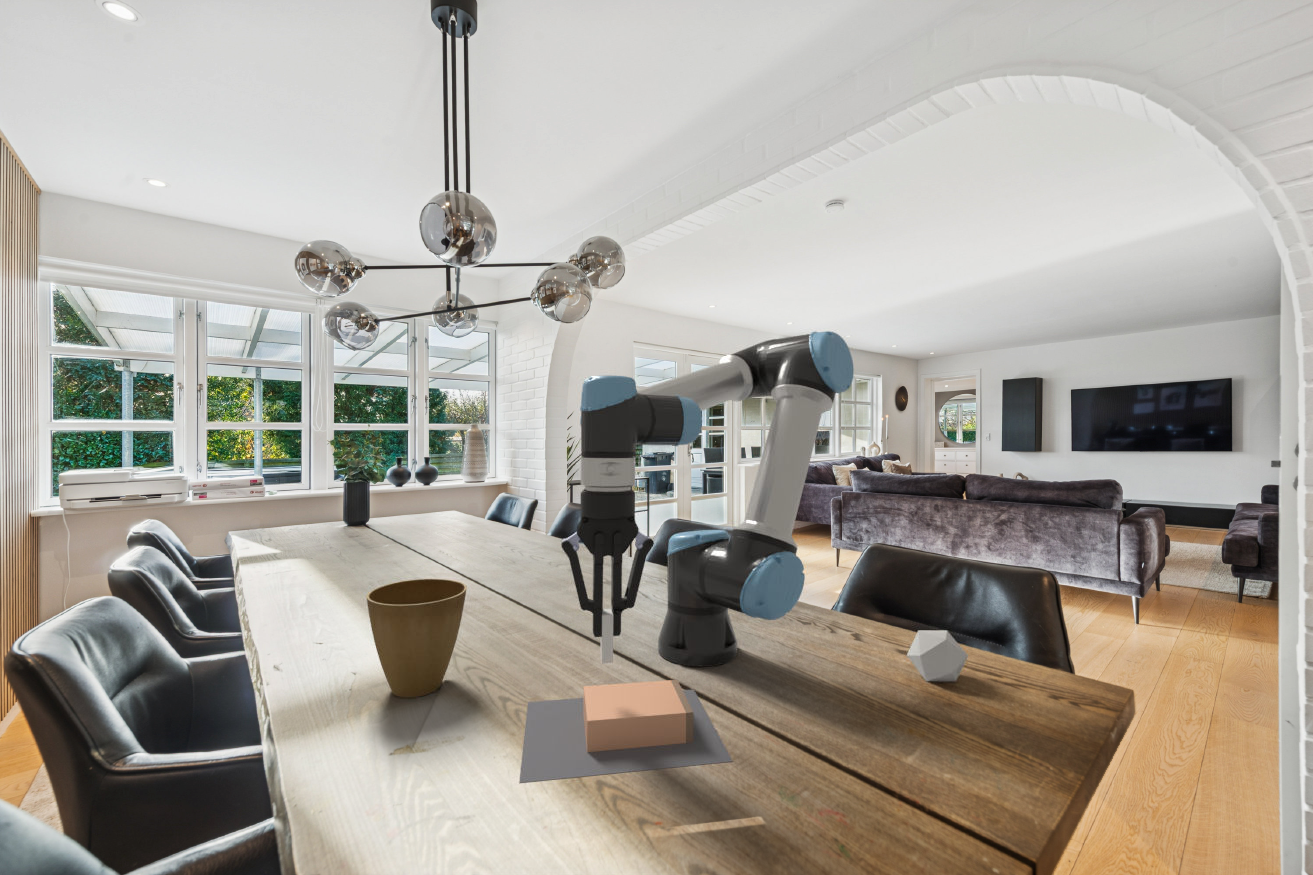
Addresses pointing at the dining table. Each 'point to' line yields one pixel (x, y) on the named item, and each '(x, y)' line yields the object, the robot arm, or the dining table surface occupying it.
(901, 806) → the dining table surface
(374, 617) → the plant pot
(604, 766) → the mat
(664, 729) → the pink rectangular block
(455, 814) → the dining table surface
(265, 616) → the dining table surface
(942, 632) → the die
